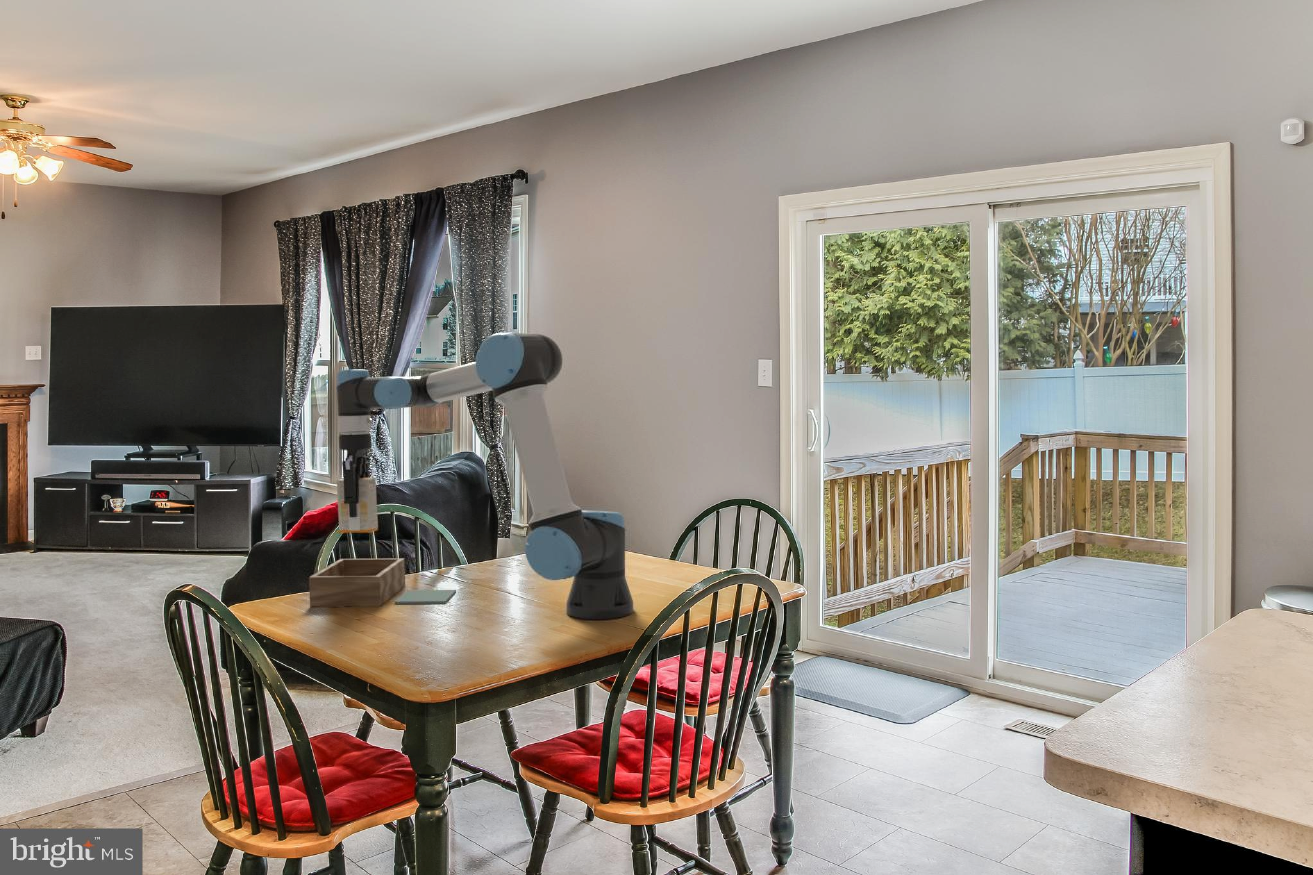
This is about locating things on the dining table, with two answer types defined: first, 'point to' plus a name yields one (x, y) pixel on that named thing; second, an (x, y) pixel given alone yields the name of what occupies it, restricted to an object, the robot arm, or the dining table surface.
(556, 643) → the dining table surface
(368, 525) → the supplement box
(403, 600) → the mat
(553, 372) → the robot arm
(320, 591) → the crate
